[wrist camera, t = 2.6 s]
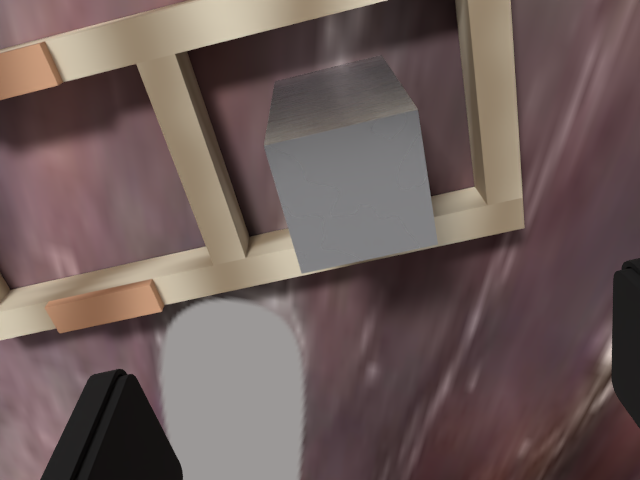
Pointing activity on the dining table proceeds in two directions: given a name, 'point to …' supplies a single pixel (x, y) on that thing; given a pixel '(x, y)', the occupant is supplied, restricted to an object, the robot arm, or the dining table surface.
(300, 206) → the grey rectangular block
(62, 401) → the dining table surface
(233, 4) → the wooden frame
